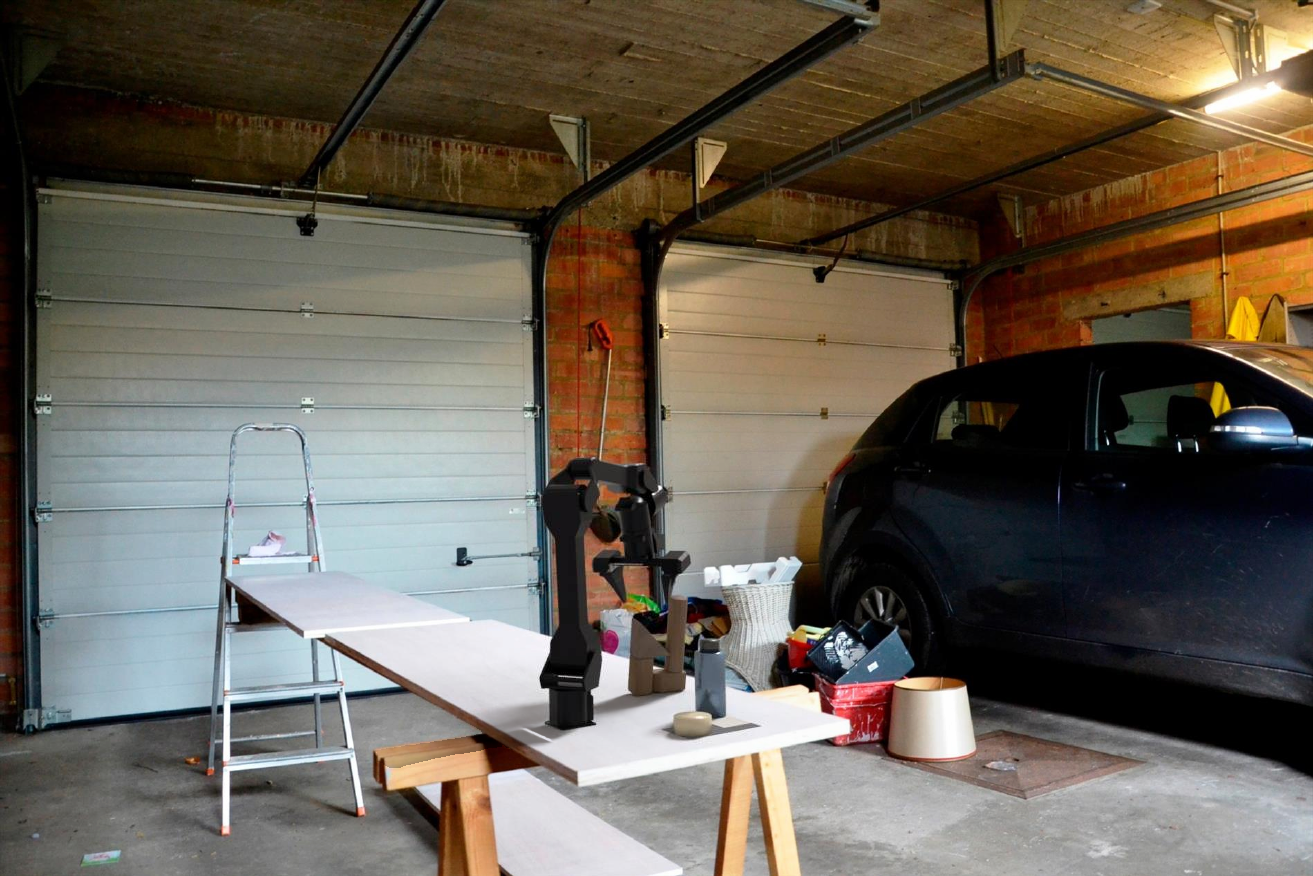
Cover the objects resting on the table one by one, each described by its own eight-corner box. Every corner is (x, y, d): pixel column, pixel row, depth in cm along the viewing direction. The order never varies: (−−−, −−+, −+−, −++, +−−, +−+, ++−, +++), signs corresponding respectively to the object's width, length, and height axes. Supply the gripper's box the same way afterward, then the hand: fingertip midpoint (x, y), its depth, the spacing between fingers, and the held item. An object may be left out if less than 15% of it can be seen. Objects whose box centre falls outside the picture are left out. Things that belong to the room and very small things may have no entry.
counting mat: (689, 741, 154) (689, 738, 154) (661, 731, 161) (661, 728, 161) (761, 728, 162) (761, 725, 162) (731, 719, 168) (731, 716, 168)
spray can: (707, 722, 166) (706, 643, 167) (689, 716, 170) (688, 639, 171) (732, 718, 169) (731, 640, 169) (714, 712, 173) (712, 636, 174)
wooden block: (626, 690, 190) (632, 597, 188) (677, 684, 195) (682, 593, 193) (635, 697, 187) (640, 602, 185) (685, 690, 192) (692, 599, 190)
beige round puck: (688, 738, 154) (687, 722, 154) (666, 730, 159) (666, 715, 159) (719, 732, 158) (719, 716, 158) (697, 725, 163) (697, 709, 163)
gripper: (695, 513, 196) (704, 588, 199) (609, 513, 203) (619, 586, 206) (675, 532, 186) (685, 611, 189) (585, 532, 193) (596, 607, 196)
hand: (646, 603), depth 195 cm, fingers open, 9 cm apart
